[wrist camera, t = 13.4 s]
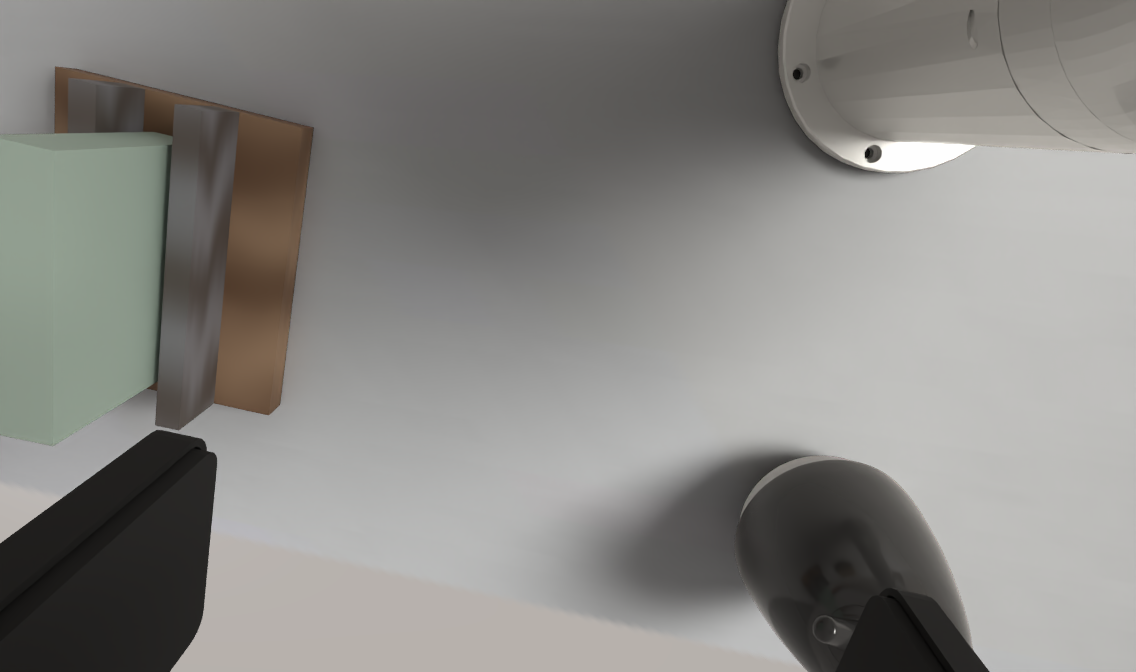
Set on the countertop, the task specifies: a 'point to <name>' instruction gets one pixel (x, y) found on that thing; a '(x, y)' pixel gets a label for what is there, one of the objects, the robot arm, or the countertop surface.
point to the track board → (212, 237)
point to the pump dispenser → (835, 553)
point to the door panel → (79, 276)
